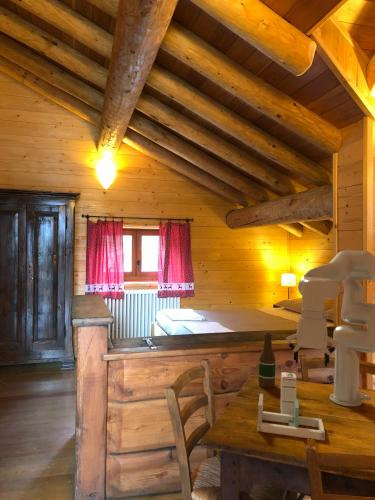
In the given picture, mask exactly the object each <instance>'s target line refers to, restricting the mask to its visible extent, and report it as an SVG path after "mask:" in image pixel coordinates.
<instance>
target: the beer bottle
mask: <svg viewBox="0 0 375 500" xmlns="http://www.w3.org/2000/svg"><path fill="white" fill-rule="evenodd" d="M263 336H264V339H263V340H264V341H263V347H262V348H263V349H262V351H261V352H260V354H259V358H258V377H257V378H258V387H262V388H265V389H271V388H275V386H276V384H275V383H276V357H275V354H274V352H273V348H272V346H273V344H272V338H273V335H272V333H270V332H264V334H263Z"/></svg>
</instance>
